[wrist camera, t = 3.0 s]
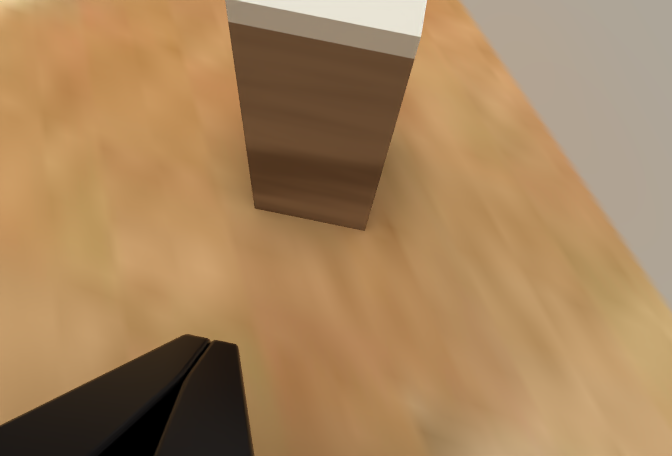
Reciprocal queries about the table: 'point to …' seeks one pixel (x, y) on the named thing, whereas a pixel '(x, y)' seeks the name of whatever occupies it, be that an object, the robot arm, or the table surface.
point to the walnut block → (321, 99)
